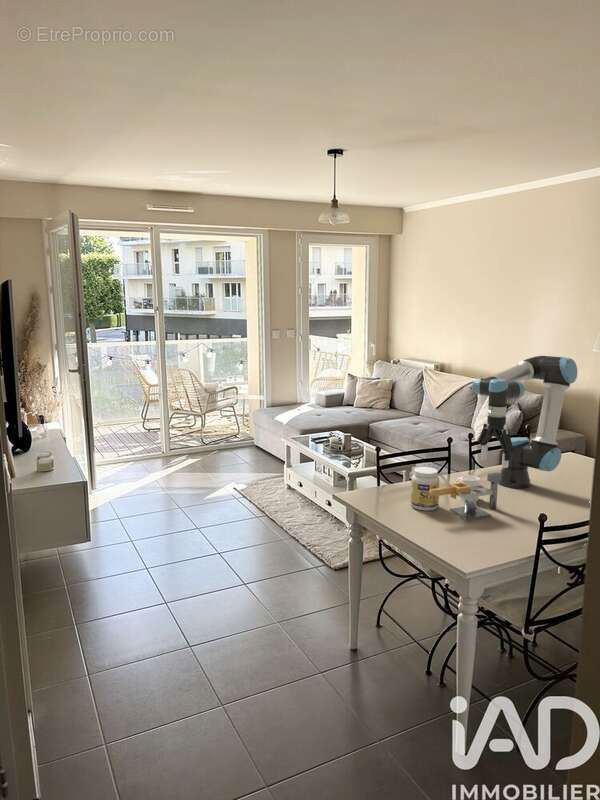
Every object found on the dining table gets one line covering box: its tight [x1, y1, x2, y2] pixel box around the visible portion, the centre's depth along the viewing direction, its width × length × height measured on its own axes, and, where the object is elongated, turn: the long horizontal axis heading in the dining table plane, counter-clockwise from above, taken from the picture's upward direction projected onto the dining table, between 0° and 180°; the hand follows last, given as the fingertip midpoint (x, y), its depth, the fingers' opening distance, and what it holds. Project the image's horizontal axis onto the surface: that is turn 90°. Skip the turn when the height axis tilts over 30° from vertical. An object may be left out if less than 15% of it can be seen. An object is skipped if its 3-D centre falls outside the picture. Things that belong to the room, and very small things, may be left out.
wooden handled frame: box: [429, 481, 471, 500], centre depth 248 cm, size 17×6×5 cm, turn 112°
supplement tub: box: [410, 466, 440, 512], centre depth 261 cm, size 12×12×17 cm
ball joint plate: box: [445, 482, 493, 522], centre depth 253 cm, size 15×12×12 cm
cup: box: [455, 474, 481, 502], centre depth 273 cm, size 8×12×10 cm
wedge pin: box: [487, 471, 502, 511], centre depth 258 cm, size 6×3×16 cm, turn 112°
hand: (494, 463), depth 256 cm, fingers open, 13 cm apart
